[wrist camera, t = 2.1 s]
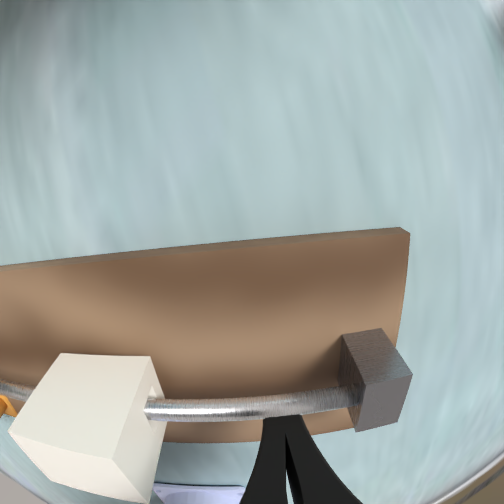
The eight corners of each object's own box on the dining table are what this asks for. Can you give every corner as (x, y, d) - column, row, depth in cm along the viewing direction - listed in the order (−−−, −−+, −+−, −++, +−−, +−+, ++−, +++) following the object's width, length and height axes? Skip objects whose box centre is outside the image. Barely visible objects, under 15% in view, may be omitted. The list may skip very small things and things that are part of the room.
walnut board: (372, 411, 16) (394, 464, 12) (-26, 392, 17) (-47, 421, 12) (399, 227, 13) (457, 262, 8) (-80, 275, 13) (-112, 297, 8)
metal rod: (367, 363, 15) (397, 421, 11) (-28, 359, 15) (-56, 390, 11) (373, 317, 14) (412, 374, 10) (-43, 327, 14) (-75, 356, 10)
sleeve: (169, 410, 13) (149, 504, 8) (86, 404, 13) (51, 480, 8) (150, 356, 12) (112, 459, 7) (60, 352, 12) (7, 431, 7)
